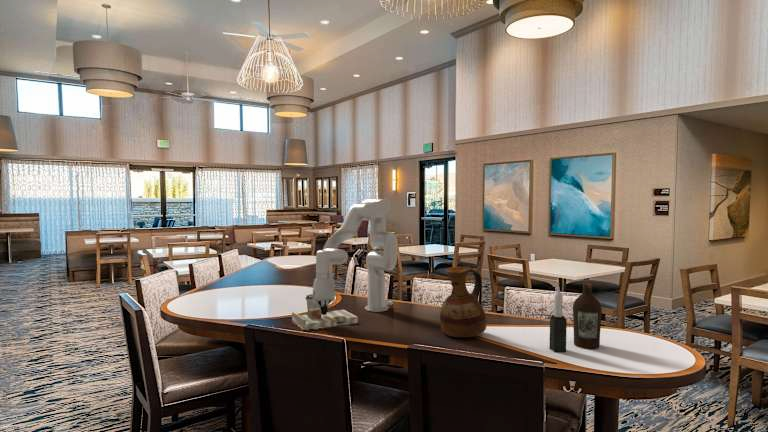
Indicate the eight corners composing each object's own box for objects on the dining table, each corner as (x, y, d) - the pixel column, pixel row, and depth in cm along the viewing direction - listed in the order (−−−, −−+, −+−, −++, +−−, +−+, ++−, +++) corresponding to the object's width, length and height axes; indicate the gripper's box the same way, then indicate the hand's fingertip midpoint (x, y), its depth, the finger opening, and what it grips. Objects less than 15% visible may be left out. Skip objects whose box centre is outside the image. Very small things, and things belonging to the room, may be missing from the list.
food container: (331, 312, 224) (331, 293, 224) (328, 315, 218) (329, 296, 218) (308, 312, 225) (308, 293, 225) (305, 315, 219) (305, 295, 219)
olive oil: (571, 340, 181) (572, 281, 180) (599, 343, 177) (600, 282, 176) (572, 347, 171) (573, 285, 170) (602, 351, 167) (603, 287, 166)
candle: (548, 348, 170) (549, 285, 169) (560, 347, 171) (561, 285, 170) (554, 352, 165) (555, 288, 164) (567, 352, 165) (568, 287, 165)
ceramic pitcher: (431, 331, 193) (432, 264, 192) (469, 326, 201) (469, 262, 200) (455, 344, 175) (456, 271, 174) (495, 338, 183) (496, 268, 182)
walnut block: (317, 315, 206) (317, 307, 206) (321, 318, 202) (321, 309, 202) (307, 317, 204) (307, 308, 204) (311, 319, 200) (311, 310, 200)
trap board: (343, 315, 219) (343, 305, 219) (357, 322, 205) (357, 312, 205) (292, 322, 205) (292, 312, 205) (303, 331, 192) (303, 319, 192)
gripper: (335, 273, 212) (335, 310, 212) (306, 276, 204) (306, 314, 204) (341, 275, 205) (341, 314, 206) (312, 278, 197) (312, 318, 198)
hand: (324, 314), depth 205 cm, fingers closed
